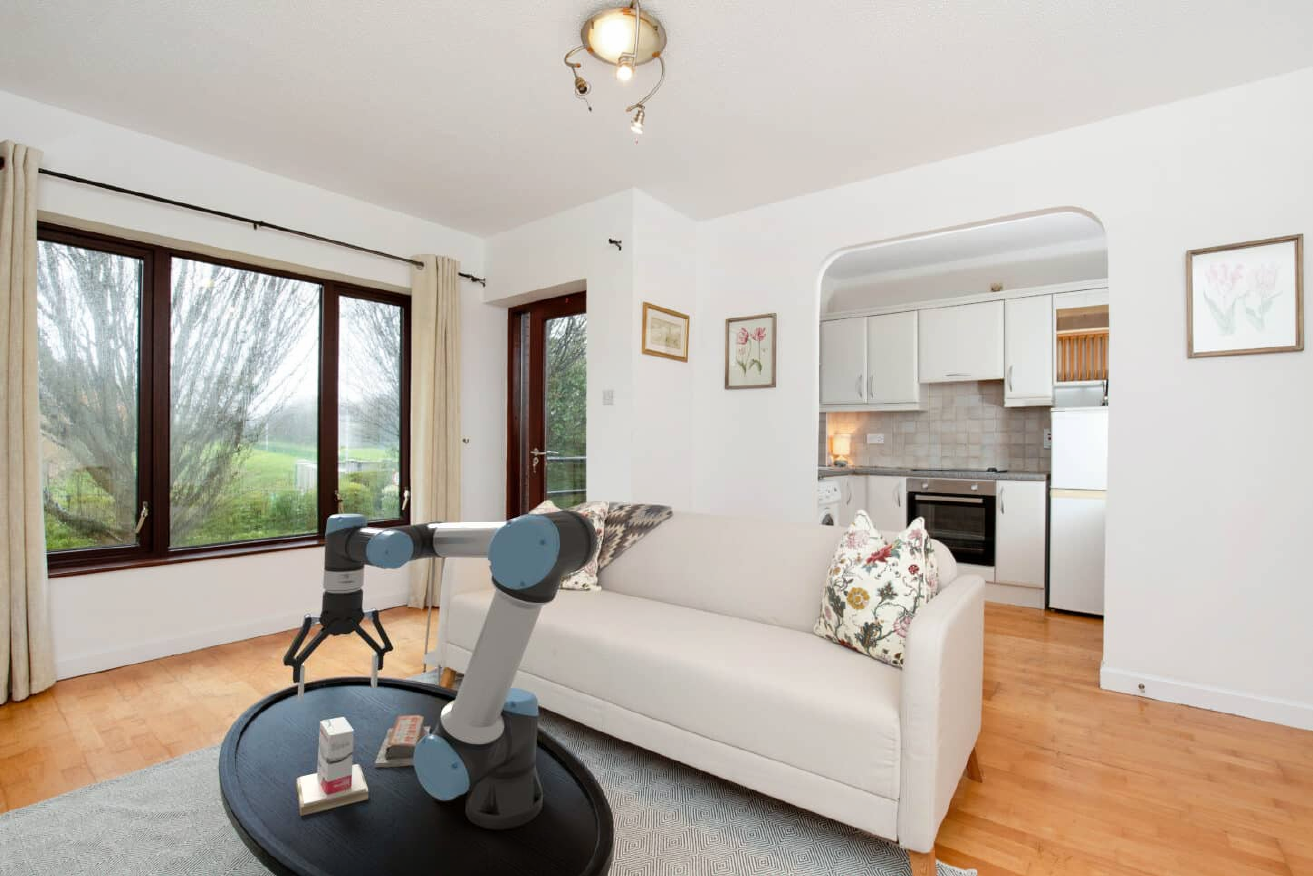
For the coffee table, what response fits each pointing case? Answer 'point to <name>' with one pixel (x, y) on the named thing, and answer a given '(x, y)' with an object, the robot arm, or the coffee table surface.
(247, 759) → the coffee table surface
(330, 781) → the ink box
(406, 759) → the packaged product
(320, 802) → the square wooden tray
